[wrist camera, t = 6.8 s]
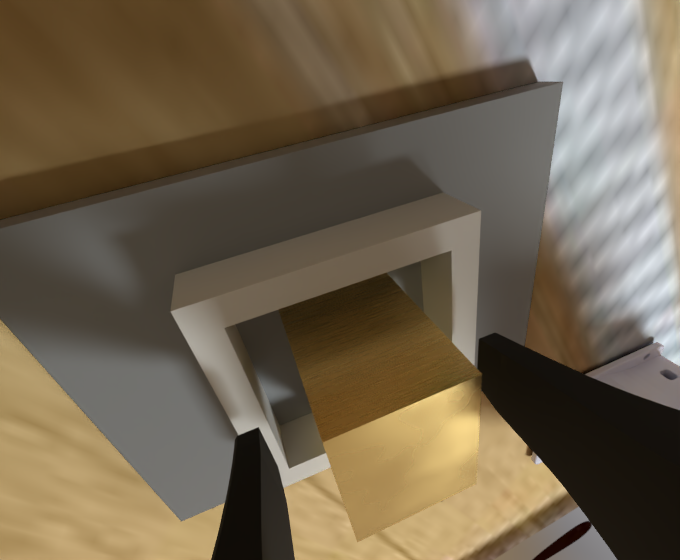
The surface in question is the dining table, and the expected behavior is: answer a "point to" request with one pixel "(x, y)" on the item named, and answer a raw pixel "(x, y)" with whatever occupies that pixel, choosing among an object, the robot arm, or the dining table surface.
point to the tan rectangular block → (386, 400)
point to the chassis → (274, 277)
